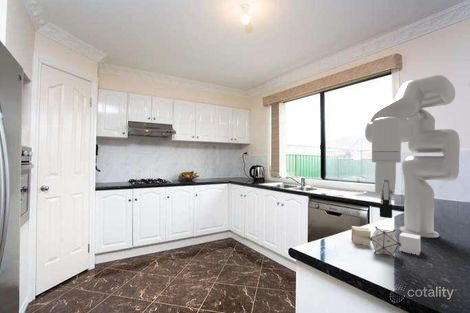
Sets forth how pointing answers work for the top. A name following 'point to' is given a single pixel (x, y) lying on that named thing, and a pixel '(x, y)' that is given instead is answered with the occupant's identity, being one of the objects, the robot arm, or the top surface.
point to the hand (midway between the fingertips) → (385, 216)
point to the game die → (384, 241)
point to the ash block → (361, 235)
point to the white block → (410, 243)
